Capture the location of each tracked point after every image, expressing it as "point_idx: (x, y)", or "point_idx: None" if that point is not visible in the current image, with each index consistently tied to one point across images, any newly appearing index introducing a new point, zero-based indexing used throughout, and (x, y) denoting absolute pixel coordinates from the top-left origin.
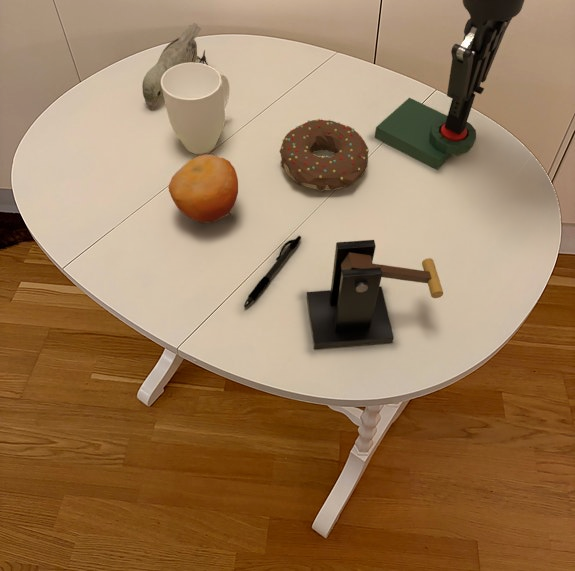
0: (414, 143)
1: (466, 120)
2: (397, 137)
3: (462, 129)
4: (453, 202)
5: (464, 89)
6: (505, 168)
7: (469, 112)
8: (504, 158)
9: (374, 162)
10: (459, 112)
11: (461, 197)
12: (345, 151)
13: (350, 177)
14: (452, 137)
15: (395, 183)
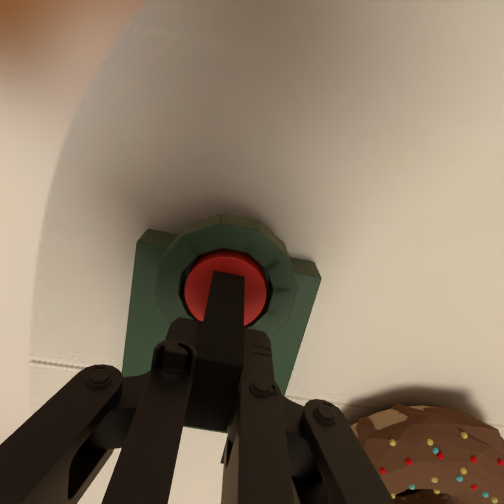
0: (286, 352)
1: (218, 291)
2: (283, 391)
3: (232, 279)
4: (417, 189)
5: (382, 494)
6: (218, 89)
7: (210, 306)
8: (175, 105)
9: (347, 388)
10: (270, 349)
11: (391, 175)
12: (441, 486)
13: (496, 439)
14: (262, 289)
15: (398, 330)
